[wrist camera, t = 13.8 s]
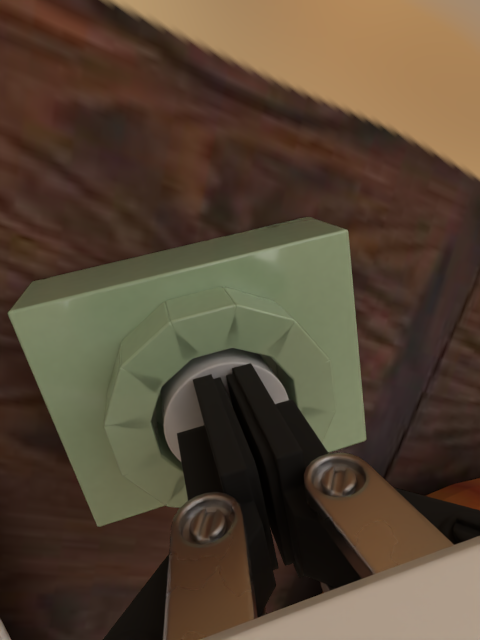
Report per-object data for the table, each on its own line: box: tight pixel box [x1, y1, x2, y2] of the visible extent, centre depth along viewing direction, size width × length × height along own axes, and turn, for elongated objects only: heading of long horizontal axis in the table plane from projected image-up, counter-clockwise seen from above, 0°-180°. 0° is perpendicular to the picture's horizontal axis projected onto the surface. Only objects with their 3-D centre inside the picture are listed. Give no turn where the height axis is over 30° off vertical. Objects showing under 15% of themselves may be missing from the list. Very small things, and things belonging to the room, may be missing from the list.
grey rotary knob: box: [160, 348, 289, 461], centre depth 13 cm, size 4×4×2 cm
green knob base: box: [8, 217, 366, 527], centre depth 15 cm, size 10×8×5 cm
